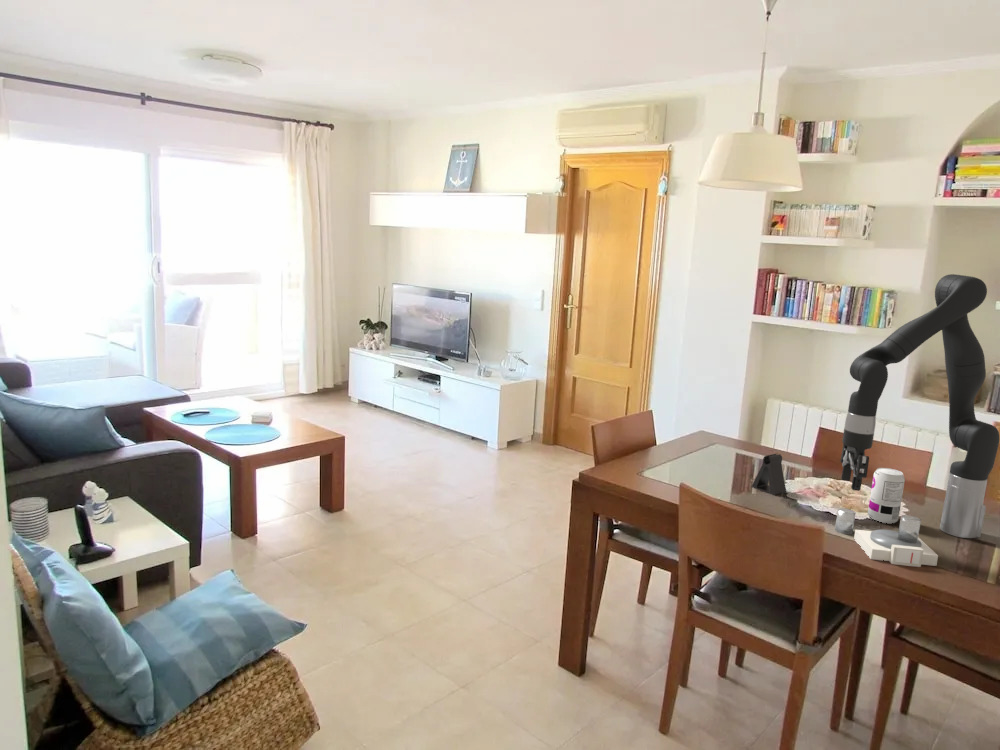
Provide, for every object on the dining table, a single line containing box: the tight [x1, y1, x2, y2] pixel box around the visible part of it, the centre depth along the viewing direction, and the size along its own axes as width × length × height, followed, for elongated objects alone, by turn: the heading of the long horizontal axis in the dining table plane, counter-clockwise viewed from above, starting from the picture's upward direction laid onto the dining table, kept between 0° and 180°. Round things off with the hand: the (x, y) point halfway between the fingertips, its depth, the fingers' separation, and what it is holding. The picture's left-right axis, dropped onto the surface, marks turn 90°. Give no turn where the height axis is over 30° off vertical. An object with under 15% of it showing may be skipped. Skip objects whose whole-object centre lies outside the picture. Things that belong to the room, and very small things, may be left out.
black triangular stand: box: [751, 453, 787, 496], centre depth 237 cm, size 9×6×12 cm, turn 34°
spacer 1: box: [834, 507, 857, 535], centre depth 206 cm, size 5×5×6 cm
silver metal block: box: [897, 514, 922, 543], centre depth 192 cm, size 5×5×6 cm
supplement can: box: [867, 467, 906, 525], centre depth 216 cm, size 8×8×15 cm
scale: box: [853, 529, 939, 568], centre depth 192 cm, size 16×15×5 cm
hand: (850, 485), depth 204 cm, fingers open, 8 cm apart
